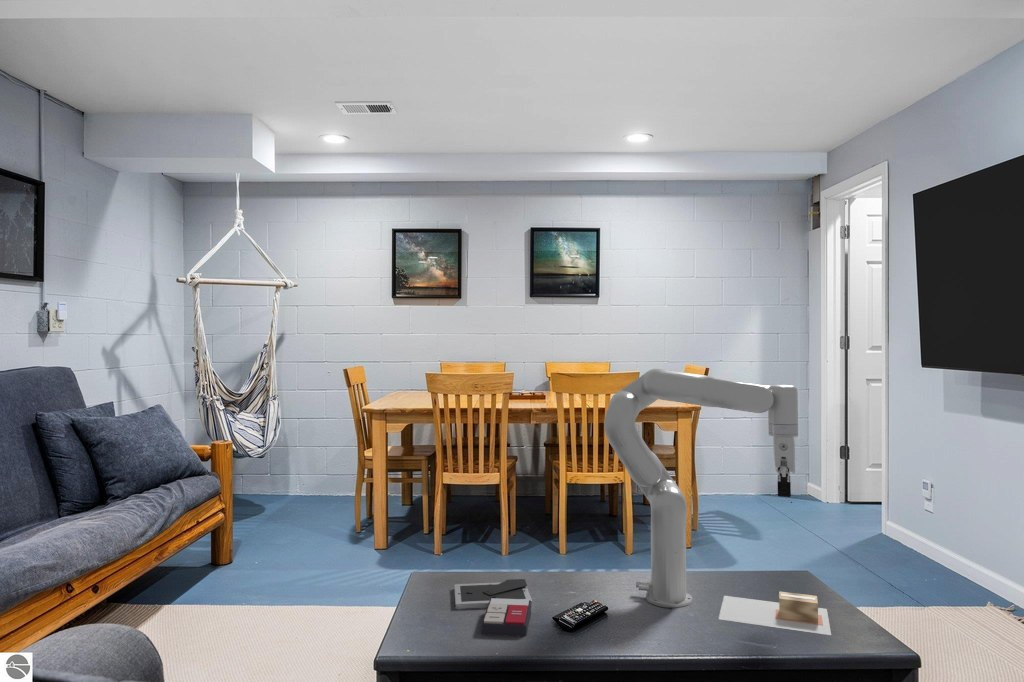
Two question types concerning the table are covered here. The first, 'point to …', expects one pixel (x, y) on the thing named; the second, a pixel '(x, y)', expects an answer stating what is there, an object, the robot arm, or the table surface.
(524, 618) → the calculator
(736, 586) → the table surface
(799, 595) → the card box
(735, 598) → the mat
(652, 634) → the table surface
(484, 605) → the picture frame
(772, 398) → the robot arm
